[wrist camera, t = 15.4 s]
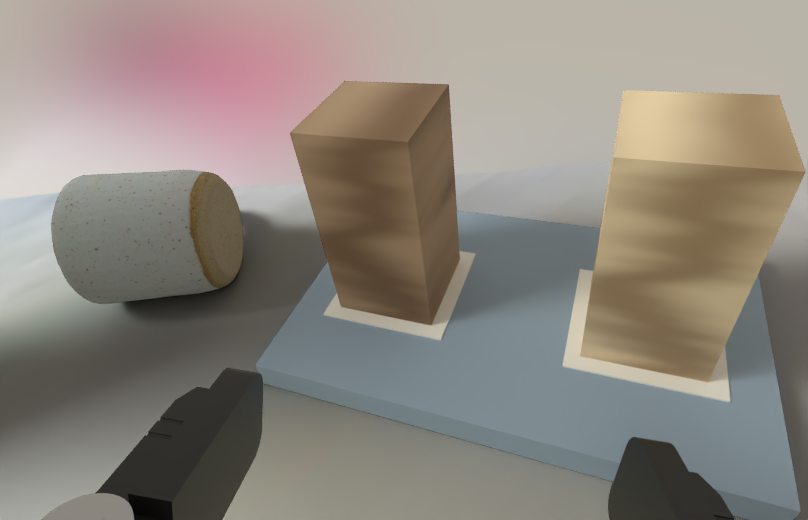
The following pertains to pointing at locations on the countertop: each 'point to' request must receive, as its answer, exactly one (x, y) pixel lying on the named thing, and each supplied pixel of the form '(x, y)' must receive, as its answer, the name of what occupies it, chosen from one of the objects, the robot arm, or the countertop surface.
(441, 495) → the countertop surface
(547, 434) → the board
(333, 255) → the walnut pillar
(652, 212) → the oak pillar
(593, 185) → the countertop surface
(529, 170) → the countertop surface
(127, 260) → the ceramic mug
